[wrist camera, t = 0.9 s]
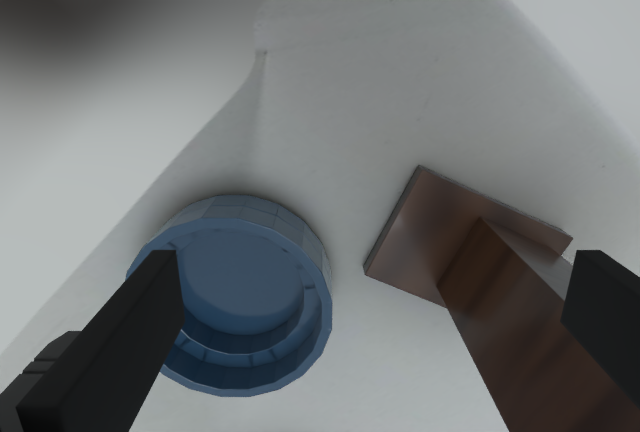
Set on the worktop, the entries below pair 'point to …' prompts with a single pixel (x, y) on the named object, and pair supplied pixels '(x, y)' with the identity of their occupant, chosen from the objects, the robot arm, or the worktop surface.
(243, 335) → the bowl
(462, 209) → the stand
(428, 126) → the worktop surface
